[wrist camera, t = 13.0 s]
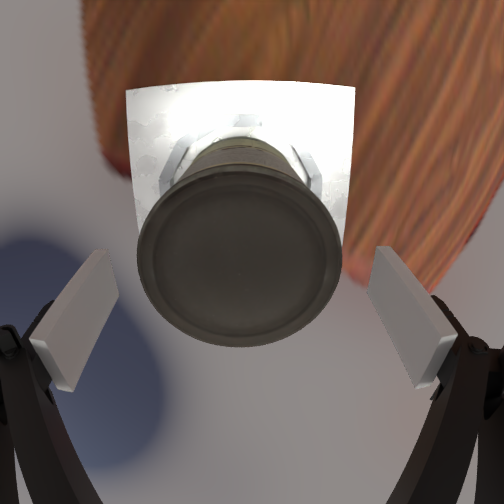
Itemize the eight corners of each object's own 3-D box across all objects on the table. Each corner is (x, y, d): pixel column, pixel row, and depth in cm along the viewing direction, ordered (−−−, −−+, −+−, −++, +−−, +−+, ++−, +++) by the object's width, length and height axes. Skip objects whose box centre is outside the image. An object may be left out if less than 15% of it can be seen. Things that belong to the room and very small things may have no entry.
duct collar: (129, 90, 24) (119, 90, 22) (351, 87, 24) (360, 86, 22) (150, 282, 33) (145, 294, 31) (334, 279, 33) (340, 292, 31)
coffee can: (318, 202, 28) (375, 285, 16) (231, 262, 31) (226, 372, 18) (251, 111, 24) (261, 117, 12) (160, 183, 27) (97, 255, 15)
